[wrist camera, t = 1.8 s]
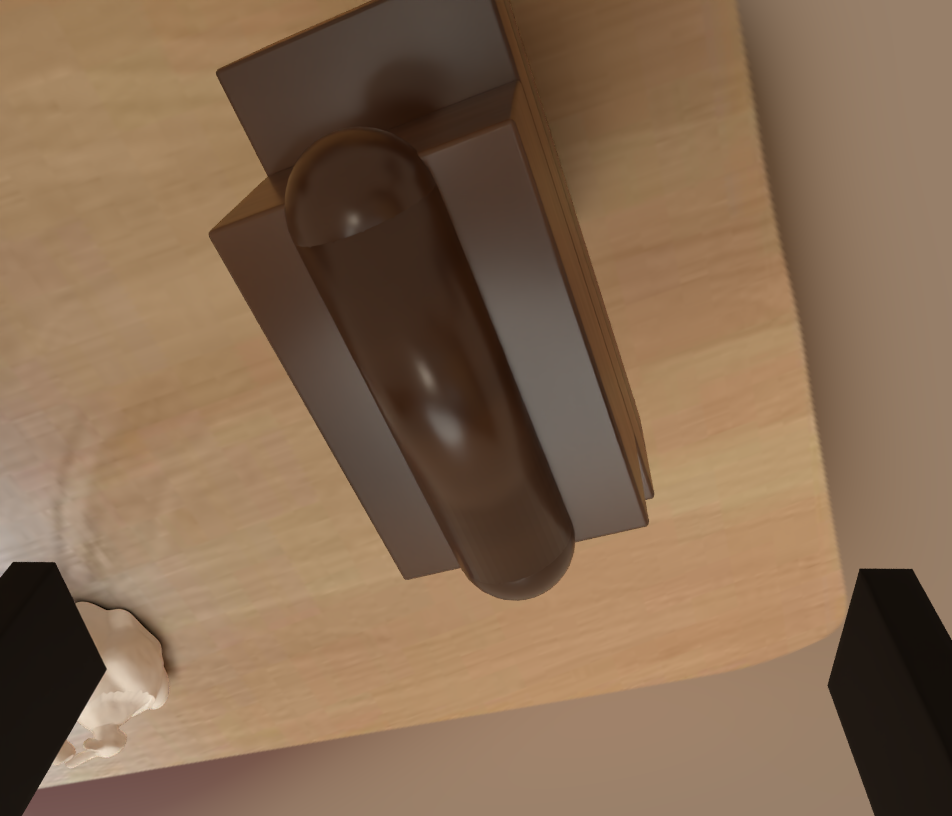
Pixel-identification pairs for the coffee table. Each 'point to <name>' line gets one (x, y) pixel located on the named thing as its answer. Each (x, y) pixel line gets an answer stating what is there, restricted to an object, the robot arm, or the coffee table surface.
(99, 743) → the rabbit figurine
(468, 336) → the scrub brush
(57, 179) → the coffee table surface
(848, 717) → the robot arm
